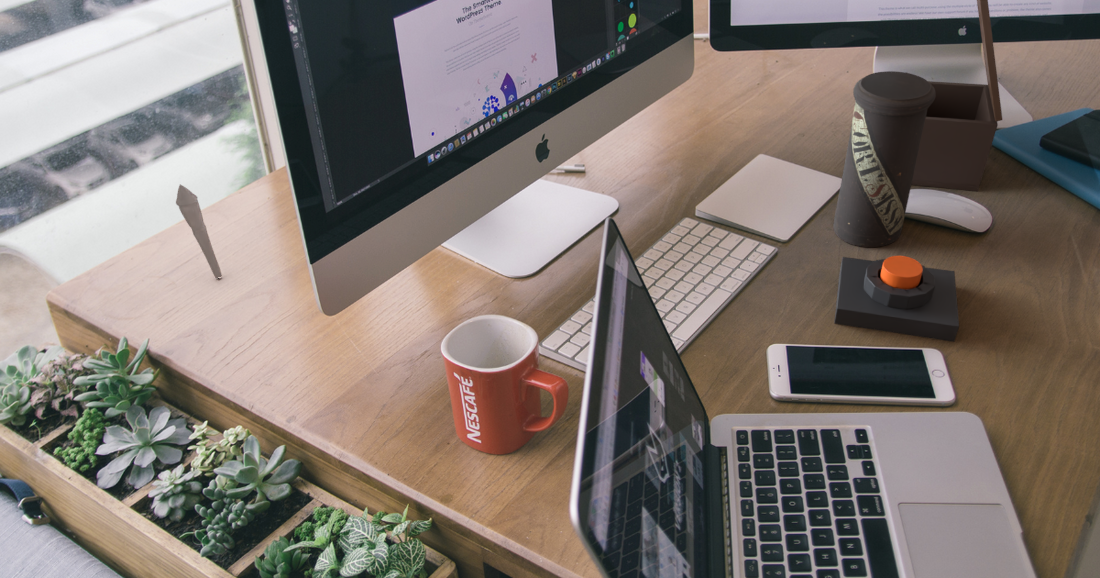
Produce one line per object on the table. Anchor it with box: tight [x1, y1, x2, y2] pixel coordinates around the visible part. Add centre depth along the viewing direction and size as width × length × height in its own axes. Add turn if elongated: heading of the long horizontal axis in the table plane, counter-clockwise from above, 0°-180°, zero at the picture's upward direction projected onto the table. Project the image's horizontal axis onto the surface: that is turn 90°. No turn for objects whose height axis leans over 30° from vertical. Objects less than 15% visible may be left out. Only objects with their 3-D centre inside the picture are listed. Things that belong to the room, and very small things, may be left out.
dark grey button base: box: [833, 256, 960, 343], centre depth 86 cm, size 12×10×4 cm
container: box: [832, 70, 936, 248], centre depth 93 cm, size 9×9×20 cm
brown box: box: [911, 80, 999, 192], centre depth 108 cm, size 16×13×10 cm
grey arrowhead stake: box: [175, 184, 223, 279], centre depth 97 cm, size 2×3×14 cm
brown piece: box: [976, 0, 1003, 122], centre depth 98 cm, size 16×13×1 cm
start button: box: [880, 255, 923, 290], centre depth 84 cm, size 4×4×2 cm
